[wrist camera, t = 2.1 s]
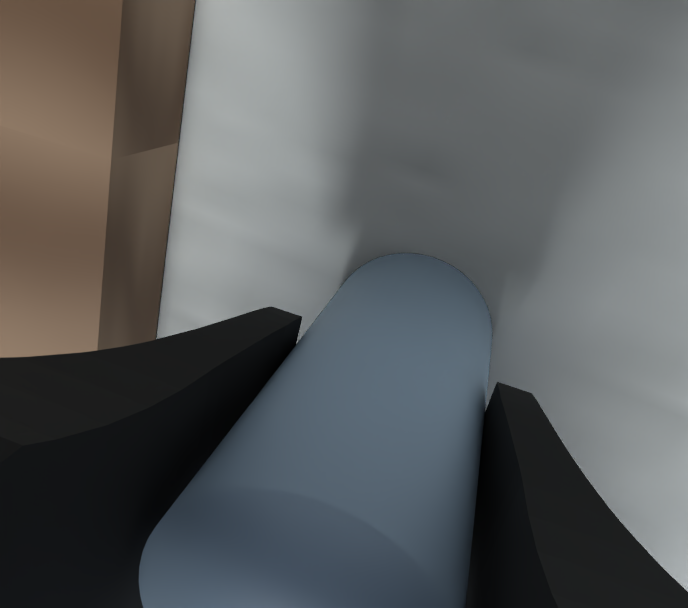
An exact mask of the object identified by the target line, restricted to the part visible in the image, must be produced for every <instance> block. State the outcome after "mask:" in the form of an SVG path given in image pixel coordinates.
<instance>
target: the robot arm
mask: <svg viewBox="0 0 688 608" xmlns="http://www.w3.org/2000/svg"><path fill="white" fill-rule="evenodd" d="M301 320H302V317H301V316H298V315H295V314H292V313H289V312H286V311H283V310H280V309H277V308H274V307H267V308H263V309H259V310H256V311H252V312H249V313H246V314H243V315H240V316H237V317H234V318H230V319H227V320H224V321H221V322H218V323H214V324H211V325H208V326H205V327H202V328H198V329H195V330H191V331H187V332H183V333H179V334H176V335H172V336H168V337H164V338H160V339H156V340H152V341H148V342H143V343H139V344H133V345H128V346H123V347H116V348H110V349H103V350H97V351H89V352H81V353H68V354H56V355H43V356H31V357H5V358H0V608H143V605H142V601H141V597H140V589H139V566H140V561H141V556H142V552H143V549H144V547H145V544H146V542H147V540H148V538H149V536H150V535H151V533H152V531H153V530H154V528H155V527H156V525H157V524H158V523H159V522H160V520H161V519H162V518H163V516H164V515H165V514H166V512H167V511H168V510H169V509H170V507H171V506H172V505H173V503H174V502H175V501H176V500H177V498H178V497H179V496H180V494H181V493H182V492H183V491H184V489H185V488H186V487H187V485H188V484H189V483H190V481H191V480H192V479H193V478H194V476H195V475H196V474H197V472H198V471H199V470H200V469H201V467H202V466H203V465H204V463H205V462H206V461H207V459H208V458H209V457H210V456H211V454H212V453H213V452H214V450H215V449H216V448H217V447H218V445H219V444H220V443H221V441H222V440H223V439H224V437H225V436H226V435H227V434H228V432H229V431H230V430H231V428H232V427H233V426H234V425H235V423H236V422H237V421H238V419H239V418H240V417H241V415H242V414H243V413H244V412H245V410H246V409H247V408H248V406H249V405H250V404H251V403H252V401H253V400H254V399H255V397H256V396H257V395H258V394H259V392H260V391H261V390H262V388H263V387H264V386H265V384H266V383H267V382H268V381H269V379H270V378H271V377H272V375H273V374H274V373H275V372H276V370H277V369H278V368H279V366H280V365H281V364H282V362H283V361H284V360H285V359H286V357H287V356H288V355H289V353H290V352H291V351H292V350H293V348H294V347H295V346H296V342H297V338H298V333H299V329H300V324H301ZM465 608H688V592H687V591H686V590H685V589H684V588H683V587H682V586H681V585H680V584H679V583H678V582H677V581H676V580H675V579H673V578H672V577H671V576H670V575H669V574H668V573H667V572H666V571H665V570H664V569H663V568H662V567H661V566H660V565H659V564H658V563H657V562H656V561H655V559H654V558H653V557H652V556H651V555H650V554H649V553H648V552H647V551H646V550H645V549H644V548H643V546H642V545H641V544H640V543H639V542H638V541H637V540H636V539H635V538H634V536H633V535H632V534H631V533H630V532H629V531H628V530H627V529H626V528H625V527H624V525H623V524H622V523H621V522H620V521H619V519H618V518H617V517H616V516H615V515H614V513H613V512H612V511H611V510H610V509H609V507H608V506H607V505H606V503H605V502H604V501H603V499H602V498H601V497H600V496H599V494H598V493H597V492H596V490H595V489H594V488H593V486H592V485H591V484H590V482H589V481H588V480H587V478H586V477H585V475H584V474H583V473H582V471H581V470H580V468H579V467H578V465H577V464H576V462H575V461H574V459H573V458H572V457H571V455H570V453H569V452H568V450H567V449H566V447H565V446H564V444H563V443H562V441H561V440H560V438H559V436H558V435H557V433H556V432H555V430H554V428H553V427H552V425H551V423H550V422H549V420H548V418H547V417H546V415H545V413H544V412H543V410H542V409H541V407H540V405H539V404H538V402H537V400H536V399H535V397H534V396H533V395H532V393H529V392H526V391H523V390H520V389H517V388H514V387H511V386H508V385H505V384H502V383H499V382H497V384H496V386H495V389H494V391H493V394H492V396H491V399H490V401H489V404H488V406H487V409H486V411H485V416H484V426H483V436H482V446H481V456H480V466H479V476H478V487H477V497H476V507H475V517H474V527H473V537H472V547H471V557H470V567H469V577H468V587H467V597H466V607H465Z"/></svg>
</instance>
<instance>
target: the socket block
mask: <svg viewBox="0 0 688 608" xmlns="http://www.w3.org/2000/svg"><path fill="white" fill-rule="evenodd" d="M194 6H195V0H0V358H5V357H31V356H43V355H56V354H68V353H81V352H89V351H97V350H103V349H110V348H116V347H123V346H128V345H133V344H139V343H143V342H148V341H152V340H156V331H157V322H158V314H159V305H160V297H161V288H162V280H163V271H164V263H165V254H166V245H167V237H168V228H169V220H170V211H171V203H172V194H173V186H174V177H175V168H176V160H177V151H178V143H179V134H180V126H181V117H182V109H183V100H184V92H185V83H186V74H187V66H188V57H189V49H190V40H191V32H192V23H193V15H194Z"/></svg>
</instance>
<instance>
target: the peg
mask: <svg viewBox="0 0 688 608" xmlns="http://www.w3.org/2000/svg"><path fill="white" fill-rule="evenodd" d="M491 346H492V323H491V317H490V314H489V310H488V307H487V305H486V303H485V301H484V299H483V297H482V295H481V294H480V292H479V291H478V289H477V288H476V287H475V285H474V284H473V283H472V282H471V281H470V280H469V279H468V278H467V277H466V276H465V275H464V274H463V273H462V272H460V271H459V270H457V269H456V268H454V267H453V266H451V265H449V264H447V263H445V262H444V261H441V260H439V259H436V258H433V257H430V256H426V255H422V254H413V253H398V254H391V255H386V256H383V257H379V258H377V259H374V260H372V261H370V262H368V263H366V264H364V265H363V266H361V267H360V268H358V269H357V270H356V271H355V272H354V273H352V274H351V276H350V277H349V278H348V279H347V280H346V281H345V282H344V284H343V285H342V286H341V287H340V289H339V290H338V291H337V293H336V294H335V295H334V297H333V298H332V299H331V300H330V302H329V303H328V304H327V306H326V307H325V308H324V309H323V311H322V312H321V313H320V315H319V316H318V317H317V318H316V320H315V321H314V322H313V324H312V325H311V326H310V328H309V329H308V330H307V331H306V333H305V334H304V335H303V337H302V338H301V339H300V340H299V342H298V343H297V344H296V346H295V347H294V348H293V350H292V351H291V352H290V353H289V355H288V356H287V357H286V359H285V360H284V361H283V362H282V364H281V365H280V366H279V368H278V369H277V370H276V372H275V373H274V374H273V375H272V377H271V378H270V379H269V381H268V382H267V383H266V384H265V386H264V387H263V388H262V390H261V391H260V392H259V394H258V395H257V396H256V397H255V399H254V400H253V401H252V403H251V404H250V405H249V406H248V408H247V409H246V410H245V412H244V413H243V414H242V415H241V417H240V418H239V419H238V421H237V422H236V423H235V425H234V426H233V427H232V428H231V430H230V431H229V432H228V434H227V435H226V436H225V437H224V439H223V440H222V441H221V443H220V444H219V445H218V447H217V448H216V449H215V450H214V452H213V453H212V454H211V456H210V457H209V458H208V459H207V461H206V462H205V463H204V465H203V466H202V467H201V469H200V470H199V471H198V472H197V474H196V475H195V476H194V478H193V479H192V480H191V481H190V483H189V484H188V485H187V487H186V488H185V489H184V491H183V492H182V493H181V494H180V496H179V497H178V498H177V500H176V501H175V502H174V503H173V505H172V506H171V507H170V509H169V510H168V511H167V512H166V514H165V515H164V516H163V518H162V519H161V520H160V522H159V523H158V524H157V525H156V527H155V528H154V530H153V531H152V533H151V535H150V536H149V538H148V540H147V542H146V544H145V547H144V549H143V552H142V556H141V561H140V566H139V589H140V597H141V601H142V605H143V608H465V607H466V597H467V587H468V577H469V567H470V557H471V547H472V537H473V527H474V517H475V507H476V497H477V487H478V476H479V466H480V456H481V446H482V436H483V426H484V416H485V406H486V396H487V386H488V376H489V366H490V356H491Z"/></svg>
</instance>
